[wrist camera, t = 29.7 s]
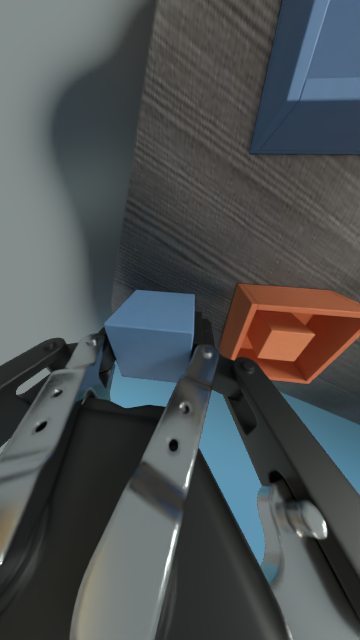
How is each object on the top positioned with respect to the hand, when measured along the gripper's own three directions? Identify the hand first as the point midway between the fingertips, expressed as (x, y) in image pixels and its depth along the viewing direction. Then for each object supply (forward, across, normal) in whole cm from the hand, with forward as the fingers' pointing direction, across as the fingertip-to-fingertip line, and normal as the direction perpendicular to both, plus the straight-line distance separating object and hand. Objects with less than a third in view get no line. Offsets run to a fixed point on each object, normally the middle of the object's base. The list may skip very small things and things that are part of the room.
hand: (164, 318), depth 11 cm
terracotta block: (+8, -13, +5) cm, 16 cm away
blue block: (0, 0, 0) cm, 0 cm away
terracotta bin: (+8, -14, +5) cm, 17 cm away
